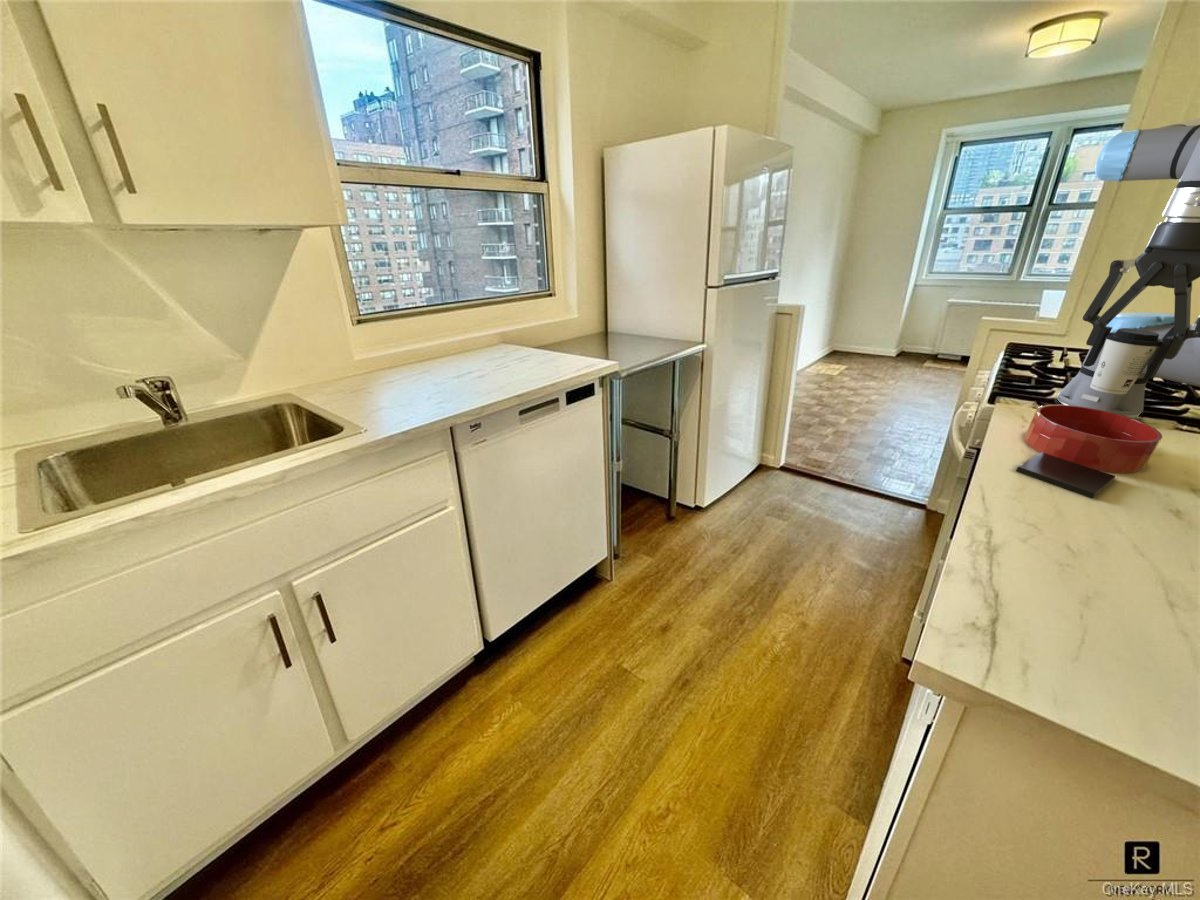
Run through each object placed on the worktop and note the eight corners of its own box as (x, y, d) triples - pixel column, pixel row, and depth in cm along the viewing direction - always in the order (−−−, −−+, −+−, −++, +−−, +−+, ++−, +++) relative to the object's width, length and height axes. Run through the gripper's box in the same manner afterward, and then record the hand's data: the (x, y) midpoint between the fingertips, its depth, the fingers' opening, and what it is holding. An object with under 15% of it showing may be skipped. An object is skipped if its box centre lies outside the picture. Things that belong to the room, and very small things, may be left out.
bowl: (1043, 425, 109) (1056, 398, 106) (1156, 457, 96) (1174, 427, 93) (1009, 444, 100) (1021, 415, 97) (1127, 482, 87) (1146, 450, 84)
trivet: (1039, 456, 95) (1041, 452, 95) (1113, 480, 87) (1116, 475, 87) (1015, 471, 90) (1017, 466, 90) (1092, 498, 82) (1095, 493, 81)
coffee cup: (1142, 399, 79) (1176, 339, 74) (1086, 391, 82) (1115, 332, 78) (1129, 387, 84) (1160, 330, 80) (1076, 380, 87) (1103, 325, 83)
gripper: (1099, 219, 77) (1037, 359, 87) (1301, 223, 62) (1198, 392, 72) (1114, 219, 80) (1053, 353, 91) (1309, 223, 66) (1209, 384, 76)
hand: (1117, 370), depth 82 cm, fingers closed on coffee cup, 7 cm apart
